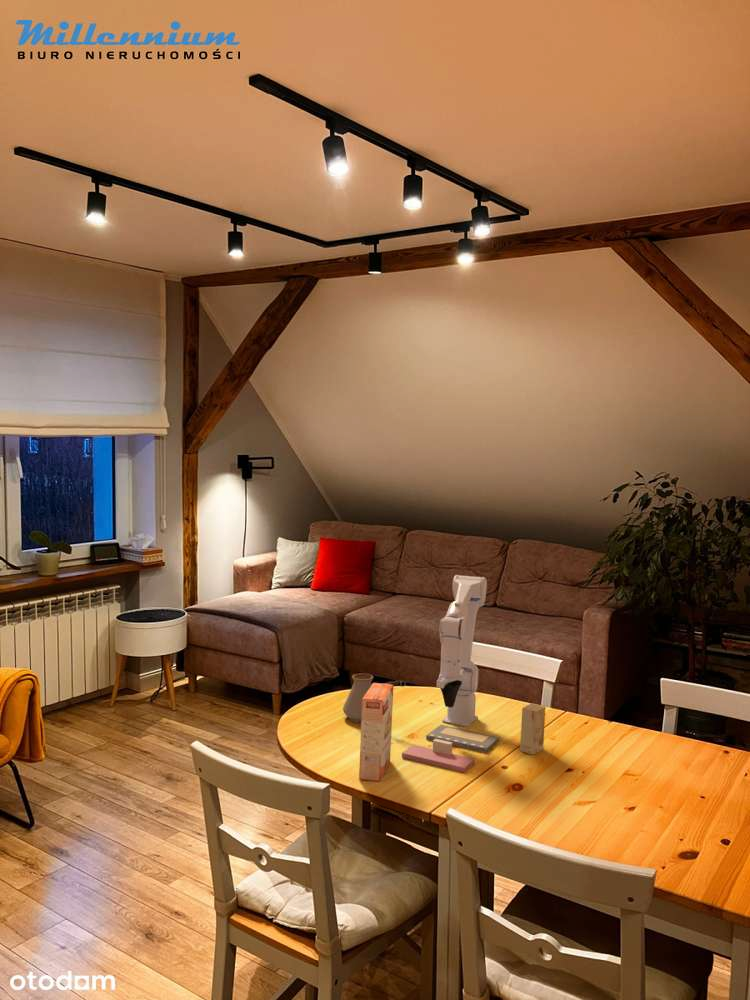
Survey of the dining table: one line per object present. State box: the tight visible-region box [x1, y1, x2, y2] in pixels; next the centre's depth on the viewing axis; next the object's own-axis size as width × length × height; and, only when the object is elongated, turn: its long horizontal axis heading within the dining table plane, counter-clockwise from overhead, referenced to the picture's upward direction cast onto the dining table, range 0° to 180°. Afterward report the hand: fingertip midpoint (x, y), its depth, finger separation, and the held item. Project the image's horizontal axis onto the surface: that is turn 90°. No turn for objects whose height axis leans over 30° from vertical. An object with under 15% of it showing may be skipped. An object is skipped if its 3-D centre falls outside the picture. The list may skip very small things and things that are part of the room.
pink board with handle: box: [401, 739, 476, 773], centre depth 217 cm, size 7×18×4 cm, turn 61°
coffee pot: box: [342, 673, 407, 723], centre depth 244 cm, size 21×12×15 cm, turn 51°
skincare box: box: [519, 702, 546, 755], centre depth 226 cm, size 6×4×12 cm
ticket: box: [425, 724, 500, 754], centre depth 232 cm, size 10×18×1 cm, turn 61°
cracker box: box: [358, 682, 394, 782], centre depth 209 cm, size 14×6×21 cm, turn 168°
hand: (449, 706), depth 232 cm, fingers closed
